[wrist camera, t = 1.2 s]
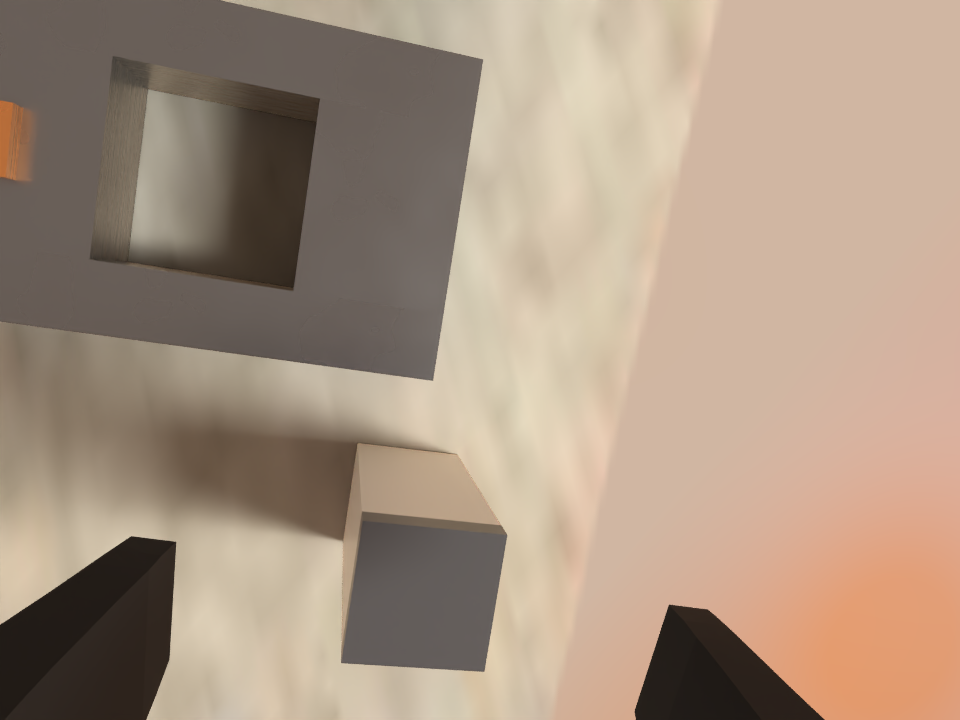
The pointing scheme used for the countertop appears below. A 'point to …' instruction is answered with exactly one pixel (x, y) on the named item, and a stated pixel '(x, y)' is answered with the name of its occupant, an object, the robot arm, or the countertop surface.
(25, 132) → the graphite socket block
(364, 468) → the grey plug
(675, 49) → the countertop surface
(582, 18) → the countertop surface
